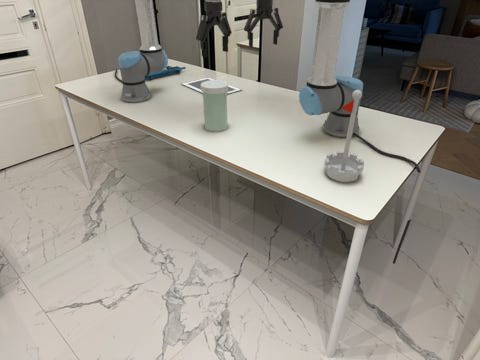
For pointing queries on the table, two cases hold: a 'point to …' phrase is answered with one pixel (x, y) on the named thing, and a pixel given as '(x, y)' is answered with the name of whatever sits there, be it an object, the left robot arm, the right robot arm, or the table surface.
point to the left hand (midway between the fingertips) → (215, 54)
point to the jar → (215, 111)
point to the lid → (214, 87)
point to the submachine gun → (165, 72)
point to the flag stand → (346, 151)
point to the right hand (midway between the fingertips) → (263, 45)
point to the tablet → (197, 84)
